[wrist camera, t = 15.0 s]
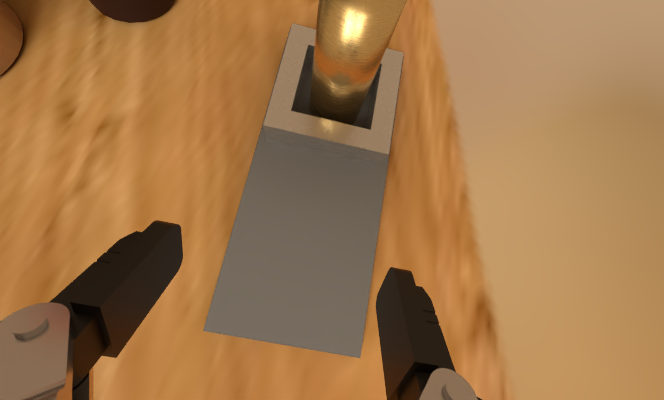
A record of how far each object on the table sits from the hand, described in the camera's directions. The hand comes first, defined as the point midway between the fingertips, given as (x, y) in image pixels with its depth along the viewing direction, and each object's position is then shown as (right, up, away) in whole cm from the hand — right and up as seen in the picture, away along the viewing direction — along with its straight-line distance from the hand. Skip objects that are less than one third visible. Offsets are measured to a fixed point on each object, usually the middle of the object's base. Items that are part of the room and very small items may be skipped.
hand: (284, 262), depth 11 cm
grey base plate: (+1, +4, +11) cm, 12 cm away
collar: (+2, +10, +11) cm, 15 cm away
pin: (+2, +10, +11) cm, 15 cm away
